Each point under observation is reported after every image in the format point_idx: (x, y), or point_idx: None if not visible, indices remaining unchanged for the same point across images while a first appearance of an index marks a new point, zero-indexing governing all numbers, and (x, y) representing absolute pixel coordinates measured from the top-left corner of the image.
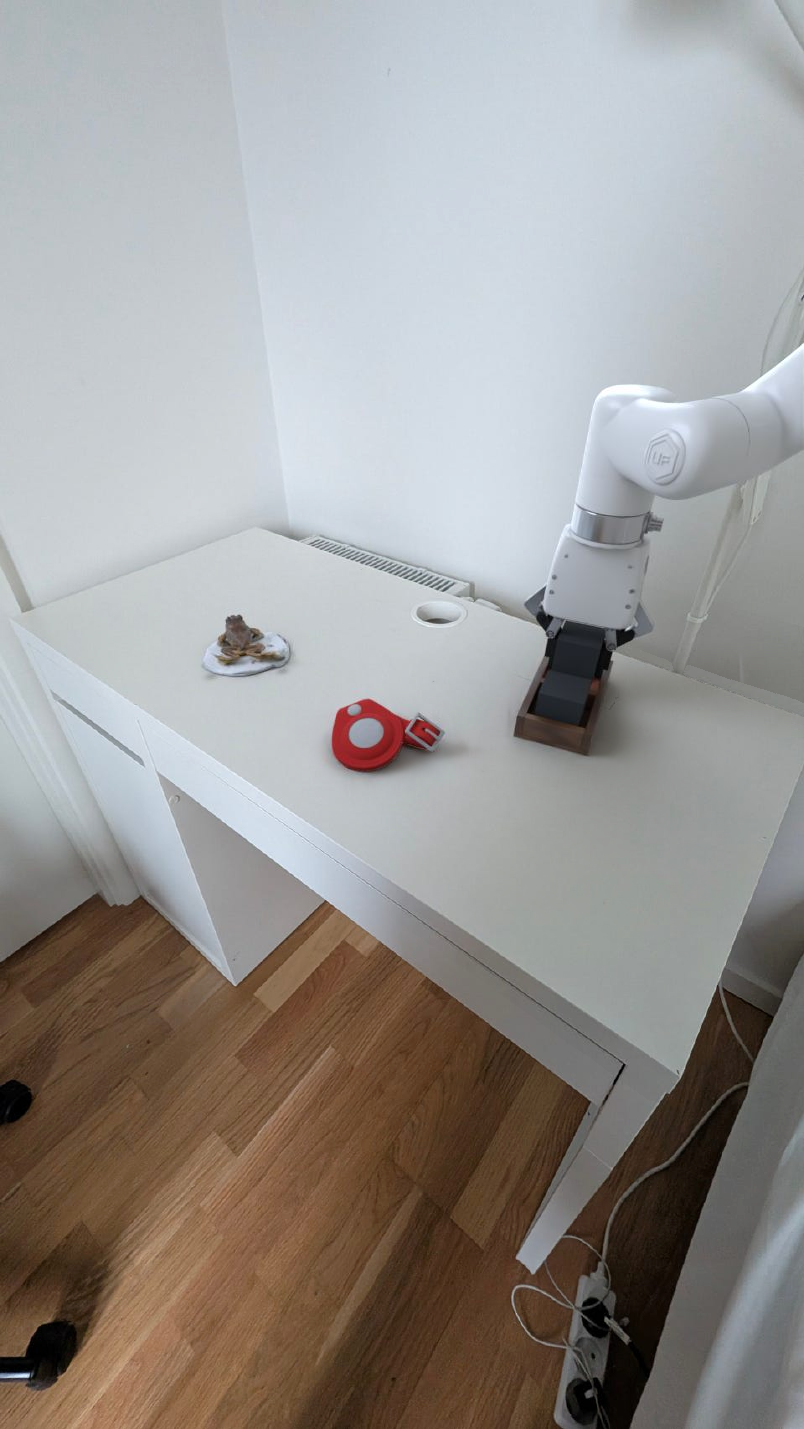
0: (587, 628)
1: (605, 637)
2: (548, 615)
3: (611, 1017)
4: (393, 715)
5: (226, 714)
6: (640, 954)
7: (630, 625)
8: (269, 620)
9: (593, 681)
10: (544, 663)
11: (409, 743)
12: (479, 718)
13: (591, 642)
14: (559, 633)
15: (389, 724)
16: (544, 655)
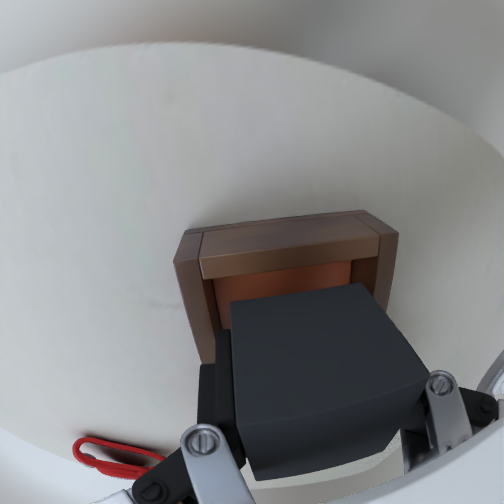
0: (351, 421)
1: (404, 455)
2: (177, 492)
3: (349, 475)
4: (119, 471)
5: (27, 433)
6: (365, 461)
7: (490, 422)
8: None
9: (337, 262)
10: (208, 350)
11: (144, 454)
12: (172, 414)
13: (360, 452)
14: (243, 453)
15: (127, 475)
16: (188, 316)
